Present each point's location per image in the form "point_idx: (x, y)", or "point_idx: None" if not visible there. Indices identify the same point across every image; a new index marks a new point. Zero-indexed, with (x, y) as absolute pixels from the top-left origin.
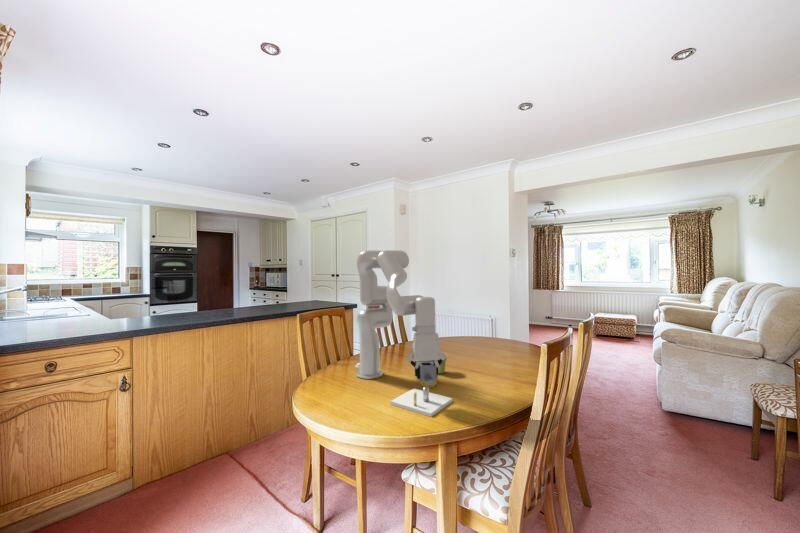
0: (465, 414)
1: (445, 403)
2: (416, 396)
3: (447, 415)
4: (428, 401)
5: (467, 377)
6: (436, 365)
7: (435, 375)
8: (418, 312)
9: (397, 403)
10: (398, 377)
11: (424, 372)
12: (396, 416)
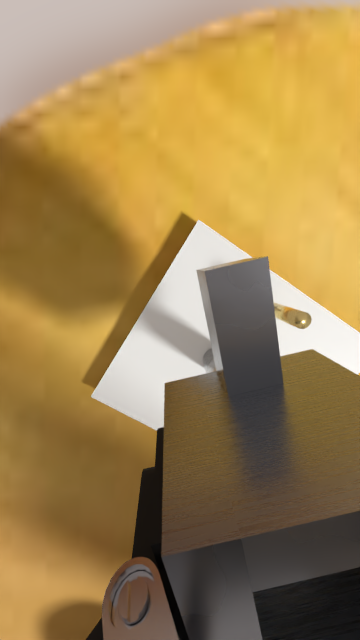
0: (35, 258)
1: (125, 340)
2: (284, 315)
3: (120, 243)
4: (205, 353)
5: (31, 617)
6: (154, 596)
7: (174, 412)
8: None
9: (348, 325)
10: None
11: (334, 409)
12: (350, 221)
